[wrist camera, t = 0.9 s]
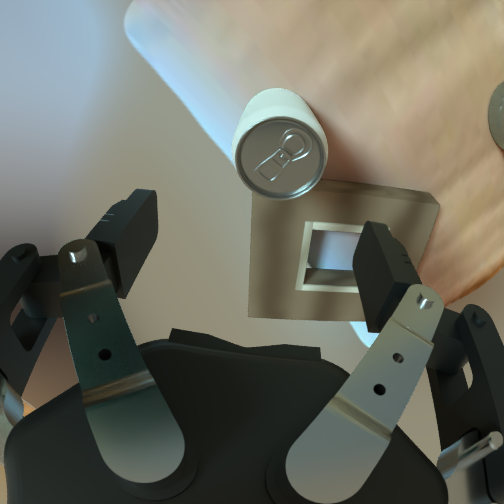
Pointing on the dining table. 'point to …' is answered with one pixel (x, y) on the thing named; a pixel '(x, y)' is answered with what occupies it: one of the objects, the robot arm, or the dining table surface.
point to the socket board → (333, 219)
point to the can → (279, 146)
